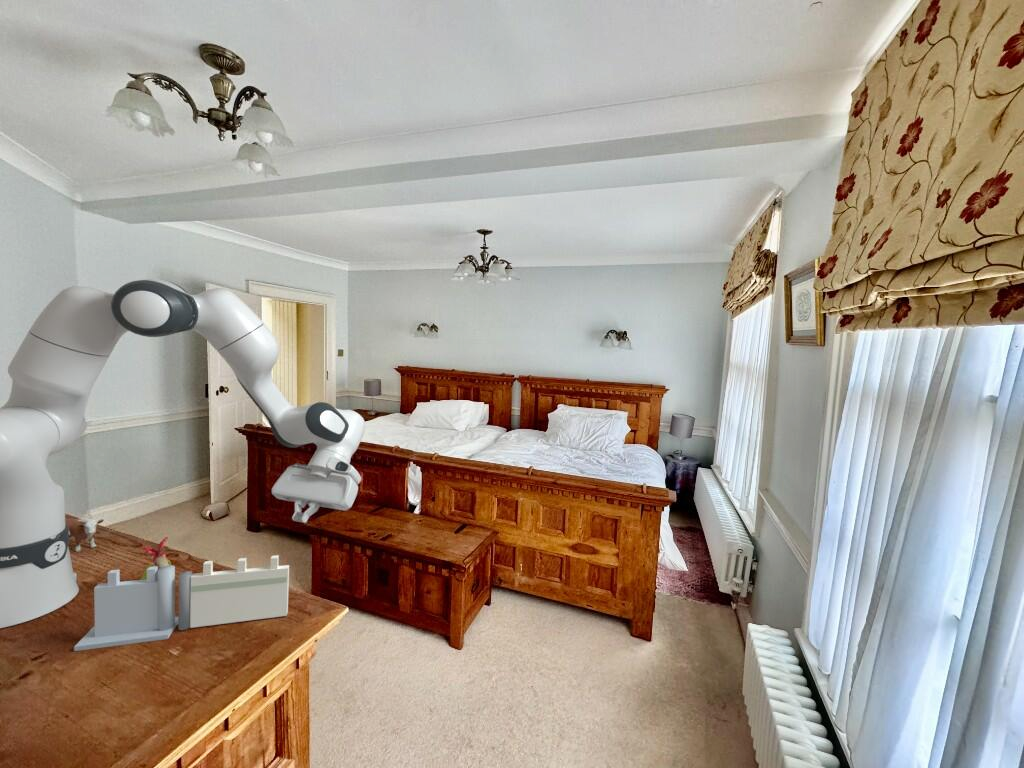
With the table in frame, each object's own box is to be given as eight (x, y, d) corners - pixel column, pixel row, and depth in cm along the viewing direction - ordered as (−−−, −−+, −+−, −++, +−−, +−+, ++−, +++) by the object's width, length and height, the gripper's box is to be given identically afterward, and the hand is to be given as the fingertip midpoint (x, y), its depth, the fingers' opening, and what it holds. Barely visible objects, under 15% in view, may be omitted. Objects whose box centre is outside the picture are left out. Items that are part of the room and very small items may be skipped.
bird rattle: (185, 593, 89) (169, 564, 92) (194, 556, 85) (177, 527, 89) (148, 608, 83) (133, 576, 87) (156, 569, 80) (140, 538, 84)
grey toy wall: (74, 651, 69) (72, 582, 67) (93, 630, 73) (92, 566, 72) (167, 638, 73) (167, 573, 72) (180, 620, 78) (180, 559, 76)
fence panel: (176, 631, 74) (176, 567, 73) (181, 623, 76) (181, 561, 75) (286, 616, 80) (288, 558, 79) (288, 610, 82) (289, 553, 81)
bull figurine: (88, 557, 95) (87, 524, 94) (45, 547, 98) (44, 515, 97) (109, 548, 99) (109, 517, 98) (68, 539, 102) (67, 508, 101)
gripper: (284, 456, 102) (252, 508, 93) (358, 467, 98) (331, 522, 89) (296, 468, 107) (266, 519, 98) (367, 479, 103) (342, 533, 94)
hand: (298, 521), depth 94 cm, fingers closed
